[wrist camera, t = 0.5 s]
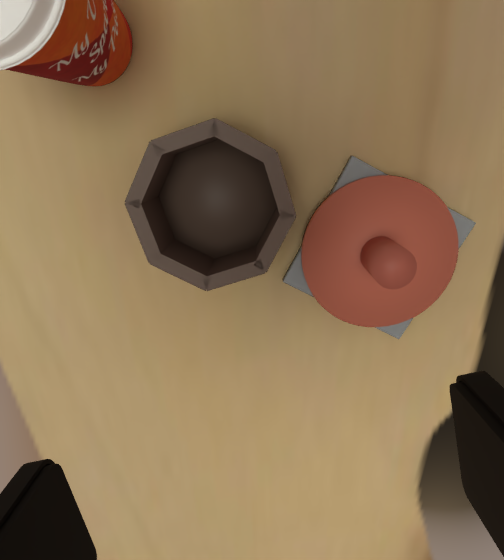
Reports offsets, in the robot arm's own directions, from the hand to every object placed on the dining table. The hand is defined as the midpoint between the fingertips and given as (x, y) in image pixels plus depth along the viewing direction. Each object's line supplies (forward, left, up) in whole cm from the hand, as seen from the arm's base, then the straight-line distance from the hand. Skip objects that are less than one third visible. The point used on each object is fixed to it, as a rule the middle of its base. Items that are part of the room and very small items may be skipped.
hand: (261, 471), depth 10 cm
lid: (-4, +8, -25) cm, 27 cm away
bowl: (-2, -5, -26) cm, 26 cm away
